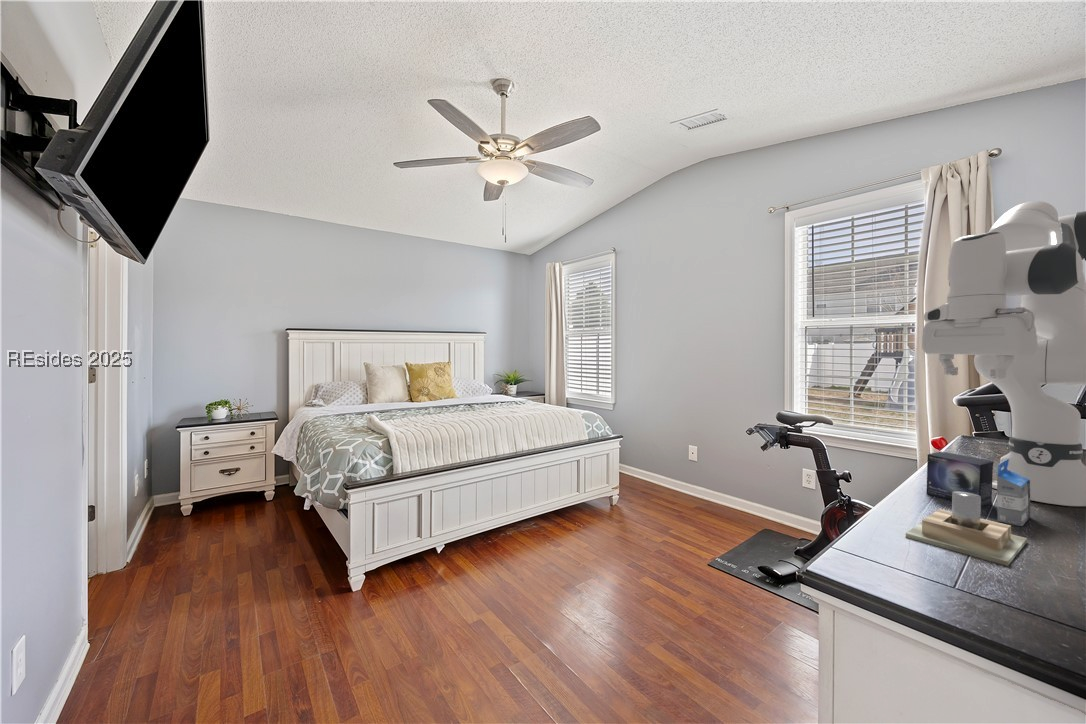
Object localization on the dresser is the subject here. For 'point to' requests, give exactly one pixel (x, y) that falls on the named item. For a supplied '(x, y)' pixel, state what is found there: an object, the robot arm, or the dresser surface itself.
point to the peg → (966, 509)
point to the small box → (959, 476)
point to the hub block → (969, 537)
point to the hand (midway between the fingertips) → (973, 376)
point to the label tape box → (1012, 496)
